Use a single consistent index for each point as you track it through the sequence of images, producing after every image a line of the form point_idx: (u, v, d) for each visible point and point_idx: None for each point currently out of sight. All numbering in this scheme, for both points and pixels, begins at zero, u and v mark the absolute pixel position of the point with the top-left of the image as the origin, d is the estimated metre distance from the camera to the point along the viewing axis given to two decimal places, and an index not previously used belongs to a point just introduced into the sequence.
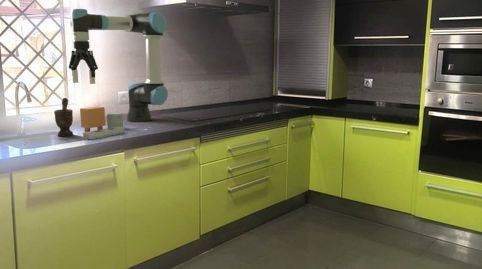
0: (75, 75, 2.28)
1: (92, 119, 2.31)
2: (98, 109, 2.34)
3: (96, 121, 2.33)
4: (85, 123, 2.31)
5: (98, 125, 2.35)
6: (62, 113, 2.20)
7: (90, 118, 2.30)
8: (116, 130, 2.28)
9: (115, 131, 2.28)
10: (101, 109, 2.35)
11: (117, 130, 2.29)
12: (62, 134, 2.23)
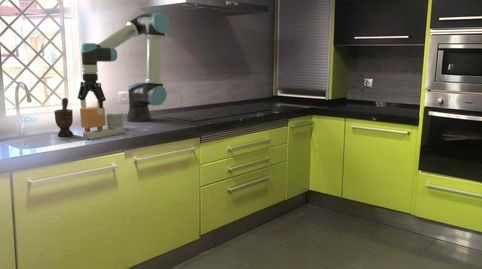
0: (83, 105, 2.37)
1: (92, 119, 2.31)
2: None
3: (96, 121, 2.33)
4: (85, 123, 2.31)
5: (98, 125, 2.35)
6: (62, 113, 2.20)
7: (90, 118, 2.30)
8: (116, 130, 2.28)
9: (115, 131, 2.28)
10: None
11: (117, 130, 2.29)
12: (62, 134, 2.23)
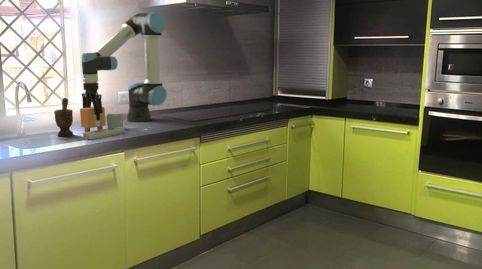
0: None
1: (92, 119, 2.31)
2: None
3: None
4: (85, 123, 2.31)
5: None
6: (62, 113, 2.20)
7: (90, 118, 2.30)
8: (116, 130, 2.28)
9: (115, 131, 2.28)
10: None
11: (117, 130, 2.29)
12: (62, 134, 2.23)
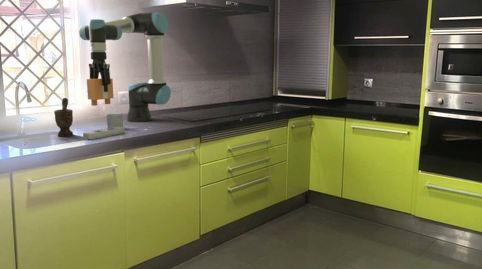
0: None
1: (99, 90, 2.18)
2: None
3: None
4: (92, 94, 2.17)
5: None
6: (62, 113, 2.20)
7: (97, 89, 2.17)
8: (116, 130, 2.28)
9: (115, 131, 2.28)
10: None
11: (117, 130, 2.29)
12: (62, 134, 2.23)
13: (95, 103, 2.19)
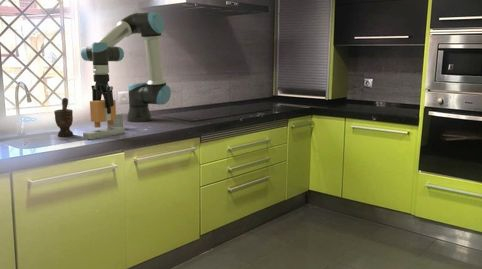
0: None
1: (102, 113, 2.19)
2: None
3: None
4: (95, 116, 2.19)
5: None
6: (62, 113, 2.20)
7: (100, 111, 2.18)
8: (116, 130, 2.28)
9: (115, 131, 2.28)
10: None
11: (117, 130, 2.29)
12: (62, 134, 2.23)
13: (98, 125, 2.20)
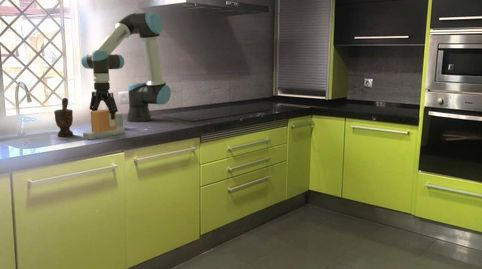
0: None
1: (103, 123, 2.20)
2: None
3: (107, 124, 2.22)
4: (96, 126, 2.20)
5: (109, 129, 2.24)
6: (62, 113, 2.20)
7: (101, 121, 2.19)
8: (116, 130, 2.28)
9: (115, 131, 2.28)
10: None
11: (117, 130, 2.29)
12: (62, 134, 2.23)
13: None
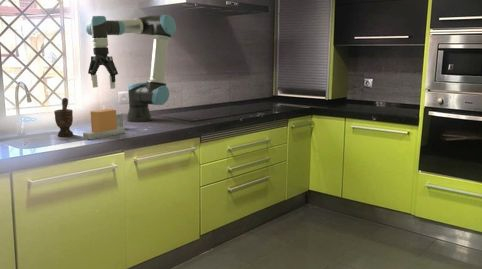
0: (95, 80, 2.34)
1: (103, 123, 2.20)
2: (109, 112, 2.23)
3: (107, 124, 2.22)
4: (96, 126, 2.20)
5: (109, 129, 2.24)
6: (62, 113, 2.20)
7: (101, 121, 2.19)
8: (116, 130, 2.28)
9: (115, 131, 2.28)
10: (112, 112, 2.24)
11: (117, 130, 2.29)
12: (62, 134, 2.23)
13: None
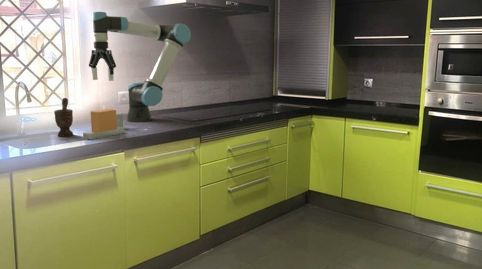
0: (95, 73, 2.47)
1: (103, 123, 2.20)
2: (109, 112, 2.23)
3: (107, 124, 2.22)
4: (96, 126, 2.20)
5: (109, 129, 2.24)
6: (62, 113, 2.20)
7: (101, 121, 2.19)
8: (116, 130, 2.28)
9: (115, 131, 2.28)
10: (112, 112, 2.24)
11: (117, 130, 2.29)
12: (62, 134, 2.23)
13: None
